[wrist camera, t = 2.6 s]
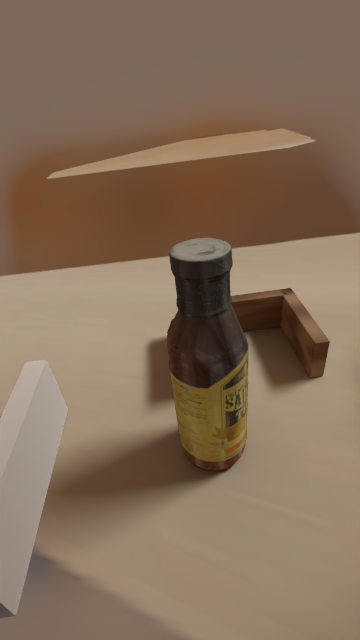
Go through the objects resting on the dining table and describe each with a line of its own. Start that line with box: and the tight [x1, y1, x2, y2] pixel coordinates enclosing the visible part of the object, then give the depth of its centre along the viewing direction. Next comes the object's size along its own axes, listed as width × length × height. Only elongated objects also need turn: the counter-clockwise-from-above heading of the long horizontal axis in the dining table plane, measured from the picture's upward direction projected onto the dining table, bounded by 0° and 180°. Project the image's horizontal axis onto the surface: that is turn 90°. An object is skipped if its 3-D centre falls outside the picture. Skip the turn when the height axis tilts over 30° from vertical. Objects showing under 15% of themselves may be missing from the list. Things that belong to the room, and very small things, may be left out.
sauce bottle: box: [167, 238, 248, 471], centre depth 27 cm, size 6×6×20 cm
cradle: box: [231, 288, 330, 378], centre depth 41 cm, size 12×15×5 cm
